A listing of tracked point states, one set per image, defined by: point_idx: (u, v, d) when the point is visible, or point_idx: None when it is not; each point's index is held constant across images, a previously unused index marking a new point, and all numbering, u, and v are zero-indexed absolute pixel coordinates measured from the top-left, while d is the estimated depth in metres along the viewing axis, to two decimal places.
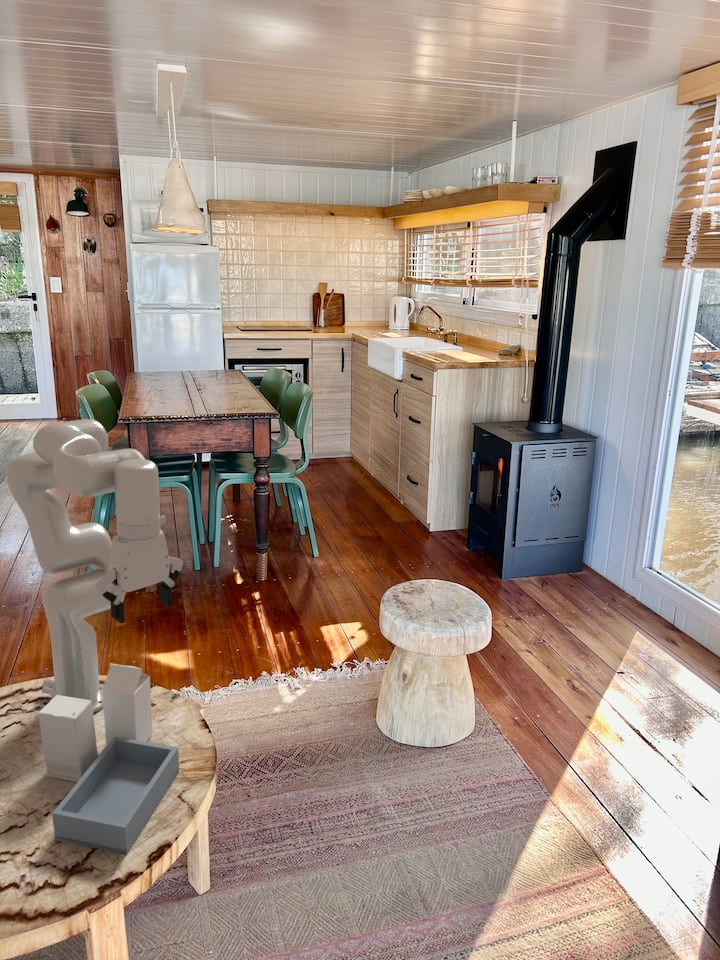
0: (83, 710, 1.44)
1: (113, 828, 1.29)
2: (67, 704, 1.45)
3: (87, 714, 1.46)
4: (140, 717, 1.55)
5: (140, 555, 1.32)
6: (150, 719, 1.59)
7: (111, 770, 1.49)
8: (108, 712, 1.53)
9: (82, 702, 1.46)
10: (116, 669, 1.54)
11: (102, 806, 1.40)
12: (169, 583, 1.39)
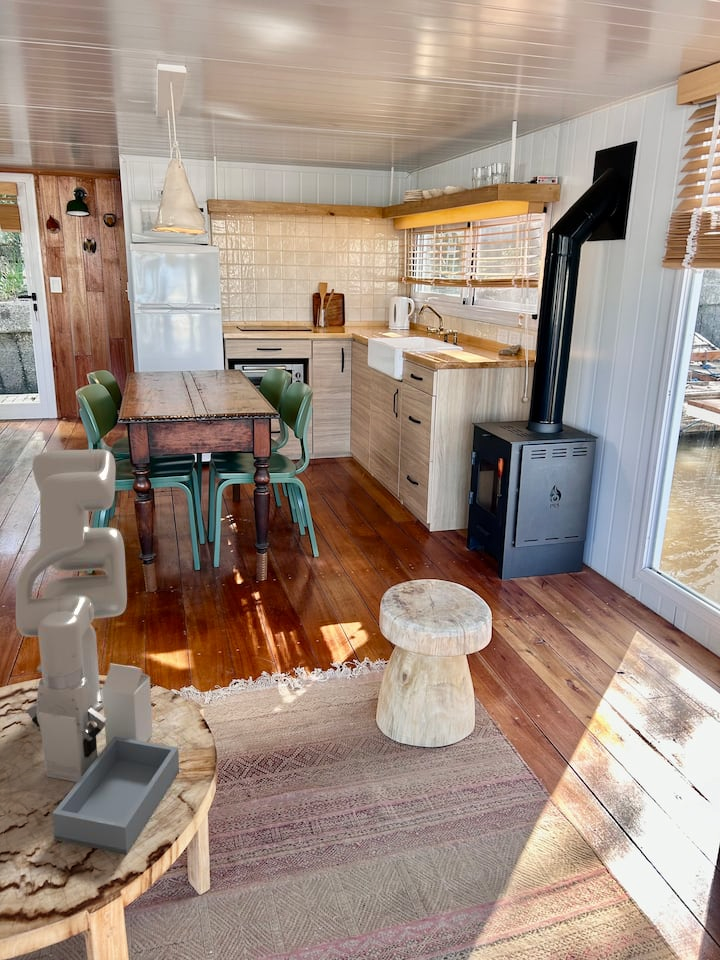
0: None
1: (113, 828, 1.29)
2: None
3: None
4: (140, 717, 1.55)
5: None
6: (150, 719, 1.59)
7: (111, 770, 1.49)
8: (108, 712, 1.53)
9: None
10: (116, 669, 1.54)
11: (102, 806, 1.40)
12: None
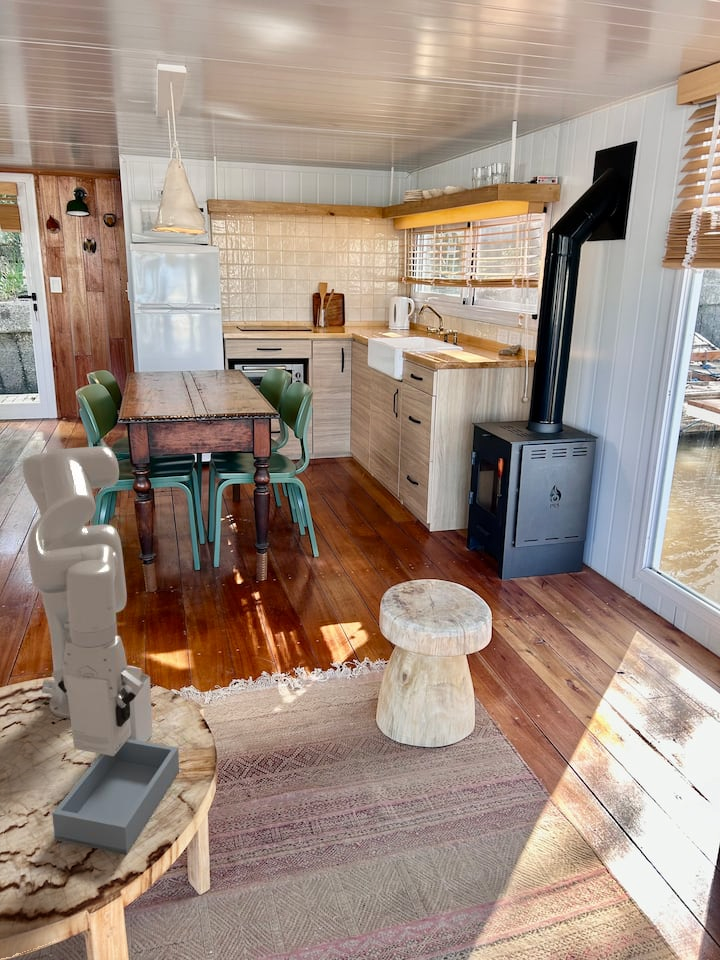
0: None
1: (113, 828, 1.29)
2: None
3: None
4: (140, 717, 1.55)
5: None
6: (150, 719, 1.59)
7: (111, 770, 1.49)
8: None
9: None
10: None
11: (102, 806, 1.40)
12: None
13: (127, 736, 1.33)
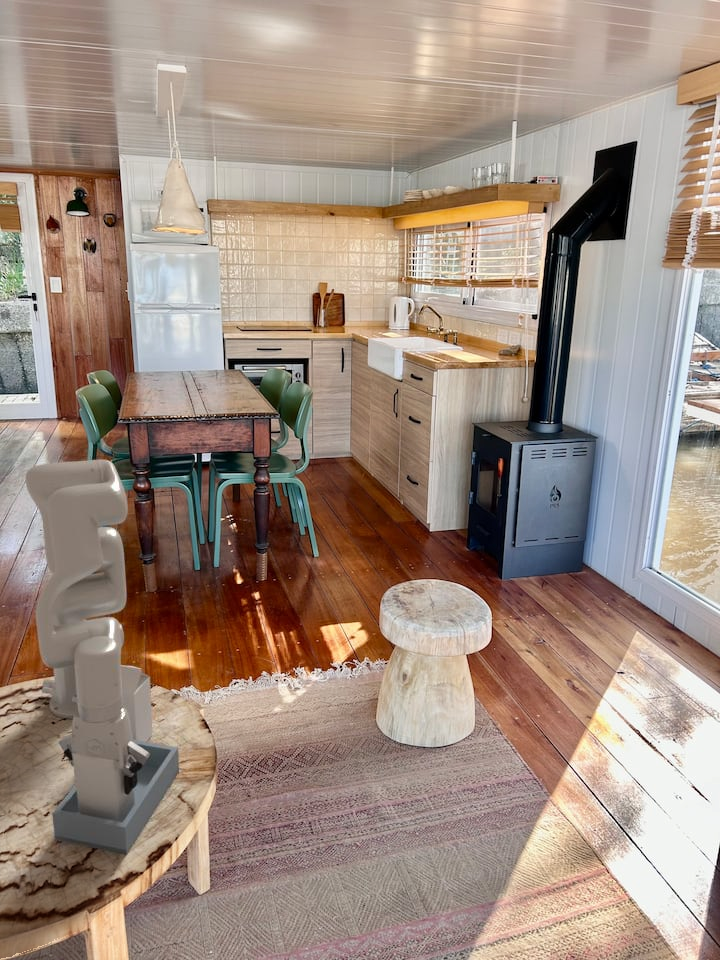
0: None
1: (113, 828, 1.29)
2: None
3: None
4: (140, 717, 1.55)
5: None
6: (150, 719, 1.59)
7: None
8: None
9: None
10: None
11: None
12: None
13: (131, 808, 1.38)
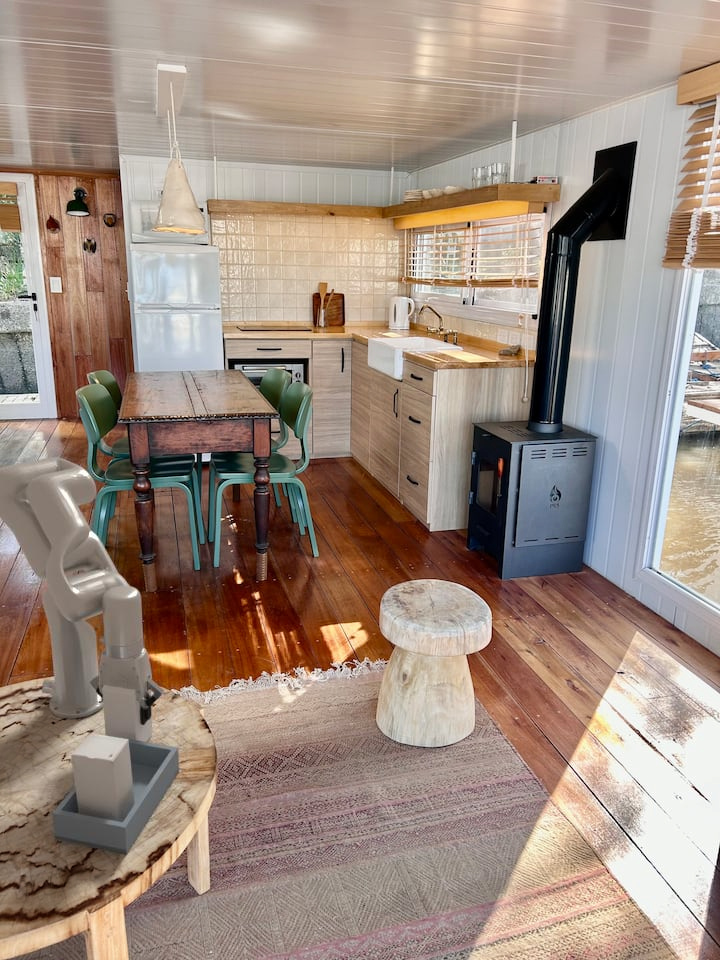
0: (120, 751, 1.32)
1: (113, 828, 1.29)
2: (102, 744, 1.33)
3: (124, 755, 1.34)
4: None
5: None
6: (150, 719, 1.59)
7: None
8: (108, 712, 1.53)
9: (118, 742, 1.34)
10: None
11: None
12: None
13: (131, 808, 1.38)
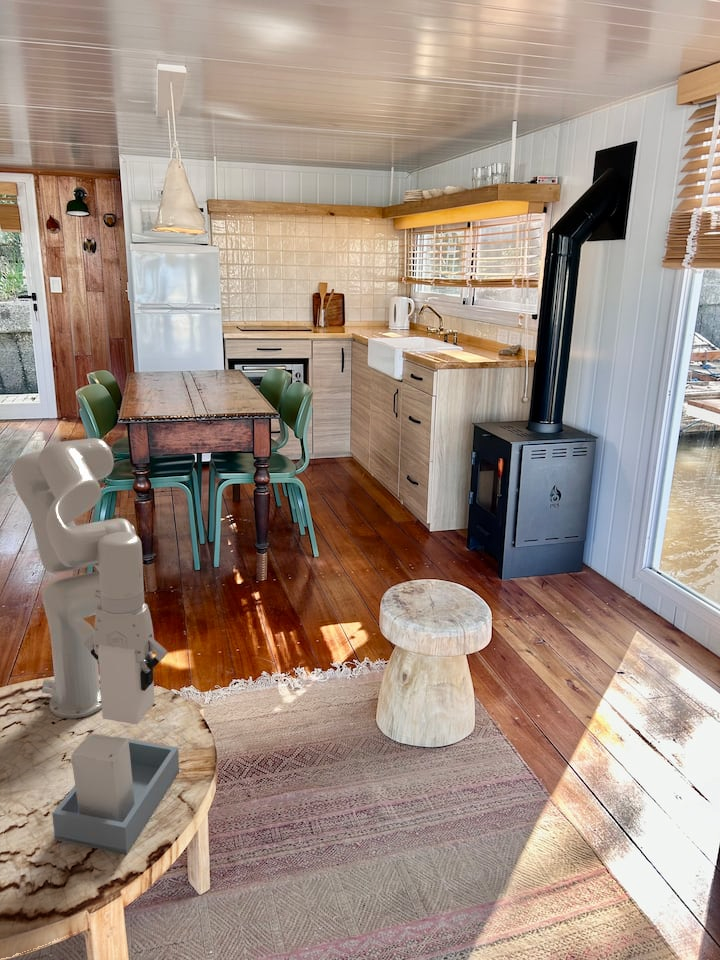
0: (120, 751, 1.32)
1: (113, 828, 1.29)
2: (102, 744, 1.33)
3: (124, 755, 1.34)
4: None
5: None
6: (152, 685, 1.42)
7: None
8: (105, 676, 1.35)
9: (118, 742, 1.34)
10: None
11: None
12: None
13: (131, 808, 1.38)
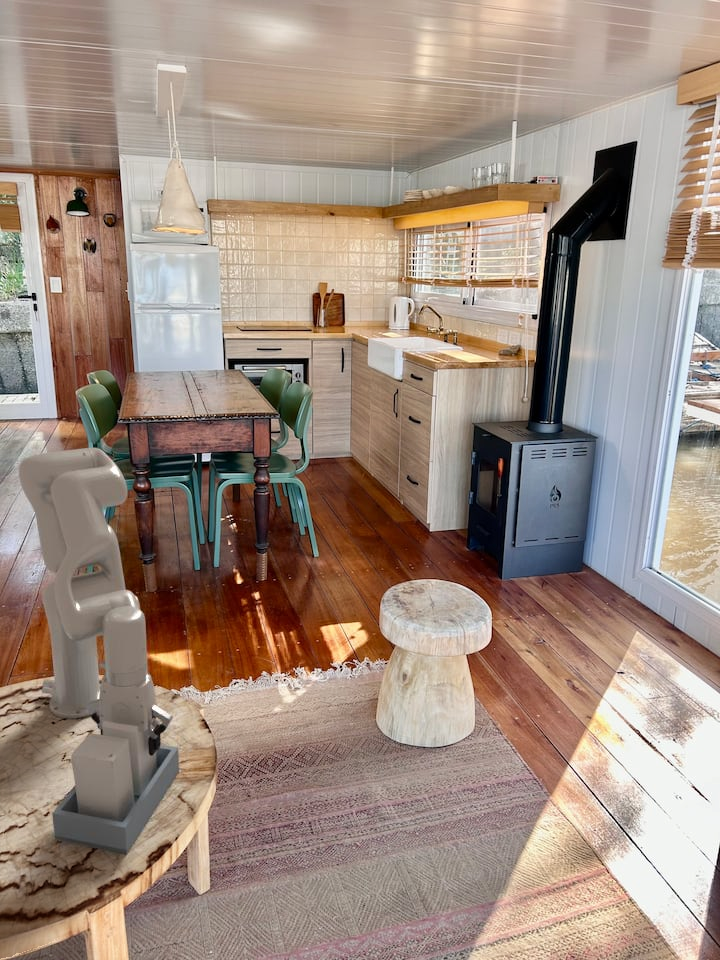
0: (120, 751, 1.32)
1: (113, 828, 1.29)
2: (102, 744, 1.33)
3: (124, 755, 1.34)
4: (144, 755, 1.42)
5: None
6: (154, 756, 1.47)
7: None
8: None
9: (118, 742, 1.34)
10: None
11: None
12: None
13: (131, 808, 1.38)
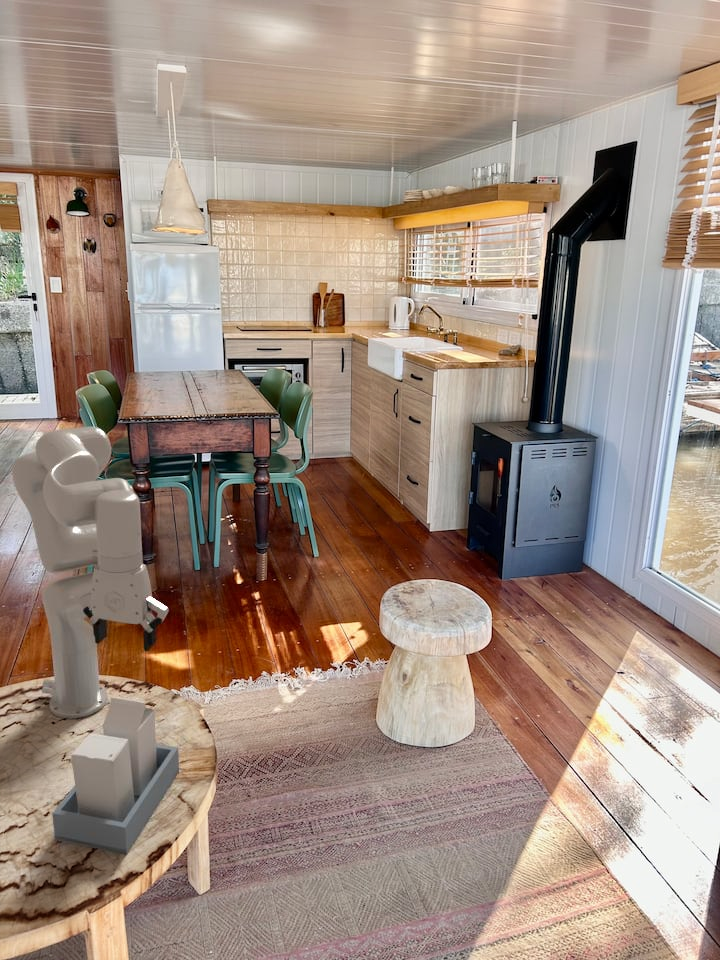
0: (120, 751, 1.32)
1: (113, 828, 1.29)
2: (102, 744, 1.33)
3: (124, 755, 1.34)
4: (144, 755, 1.42)
5: None
6: (154, 756, 1.47)
7: None
8: None
9: (118, 742, 1.34)
10: (118, 703, 1.41)
11: None
12: None
13: (131, 808, 1.38)
